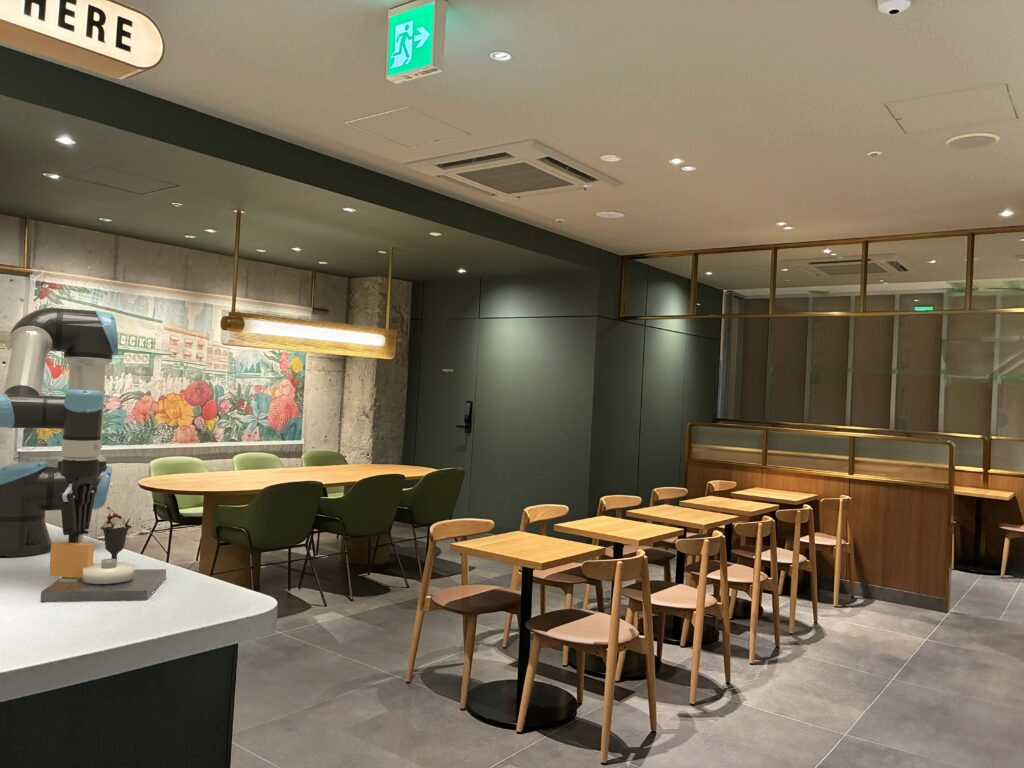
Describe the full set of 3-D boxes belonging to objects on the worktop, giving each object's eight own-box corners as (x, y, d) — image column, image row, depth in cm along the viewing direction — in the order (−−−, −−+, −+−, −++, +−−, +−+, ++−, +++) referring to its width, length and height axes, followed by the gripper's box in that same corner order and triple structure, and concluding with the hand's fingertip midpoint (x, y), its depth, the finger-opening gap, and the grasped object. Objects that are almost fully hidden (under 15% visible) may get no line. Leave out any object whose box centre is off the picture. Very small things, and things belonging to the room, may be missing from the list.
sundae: (91, 569, 186) (95, 507, 187) (113, 563, 193) (116, 503, 193) (113, 572, 184) (116, 509, 185) (134, 566, 191) (138, 506, 191)
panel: (71, 578, 176) (72, 568, 176) (165, 577, 181) (166, 568, 181) (40, 601, 157) (41, 590, 157) (146, 600, 162) (147, 589, 162)
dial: (141, 574, 174) (143, 541, 174) (120, 584, 164) (122, 550, 164) (64, 571, 174) (66, 539, 174) (39, 582, 164) (41, 547, 164)
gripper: (84, 461, 166) (77, 571, 166) (110, 456, 179) (104, 558, 179) (48, 460, 166) (41, 569, 166) (77, 455, 178) (70, 557, 178)
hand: (74, 563), depth 172 cm, fingers closed
